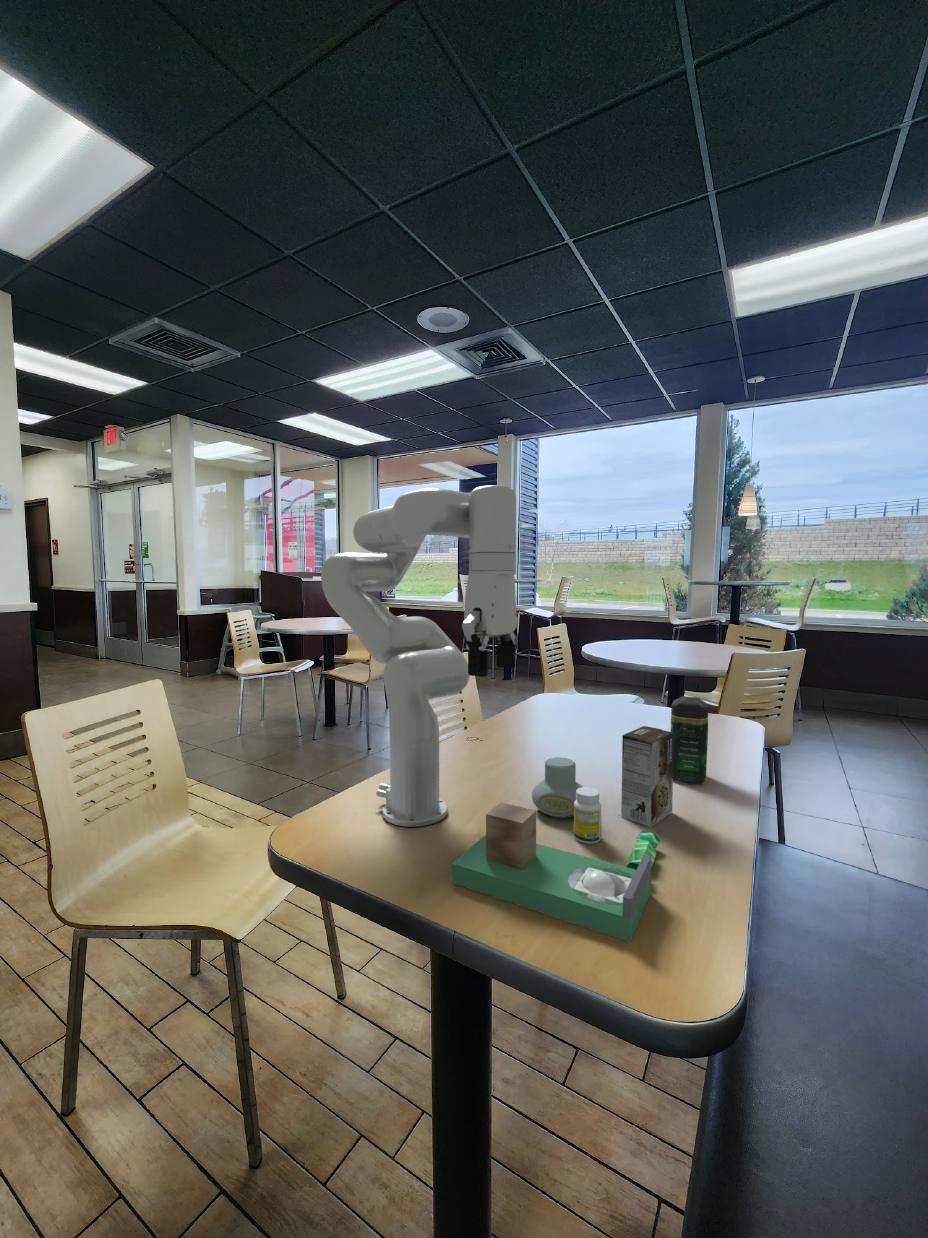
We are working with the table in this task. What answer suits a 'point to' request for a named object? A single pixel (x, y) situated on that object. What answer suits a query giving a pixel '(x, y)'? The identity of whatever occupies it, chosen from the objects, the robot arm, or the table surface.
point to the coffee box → (647, 775)
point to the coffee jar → (689, 739)
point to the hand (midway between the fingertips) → (492, 671)
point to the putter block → (511, 835)
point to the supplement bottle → (587, 816)
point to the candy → (643, 848)
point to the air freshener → (557, 788)
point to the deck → (561, 887)
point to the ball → (599, 884)
